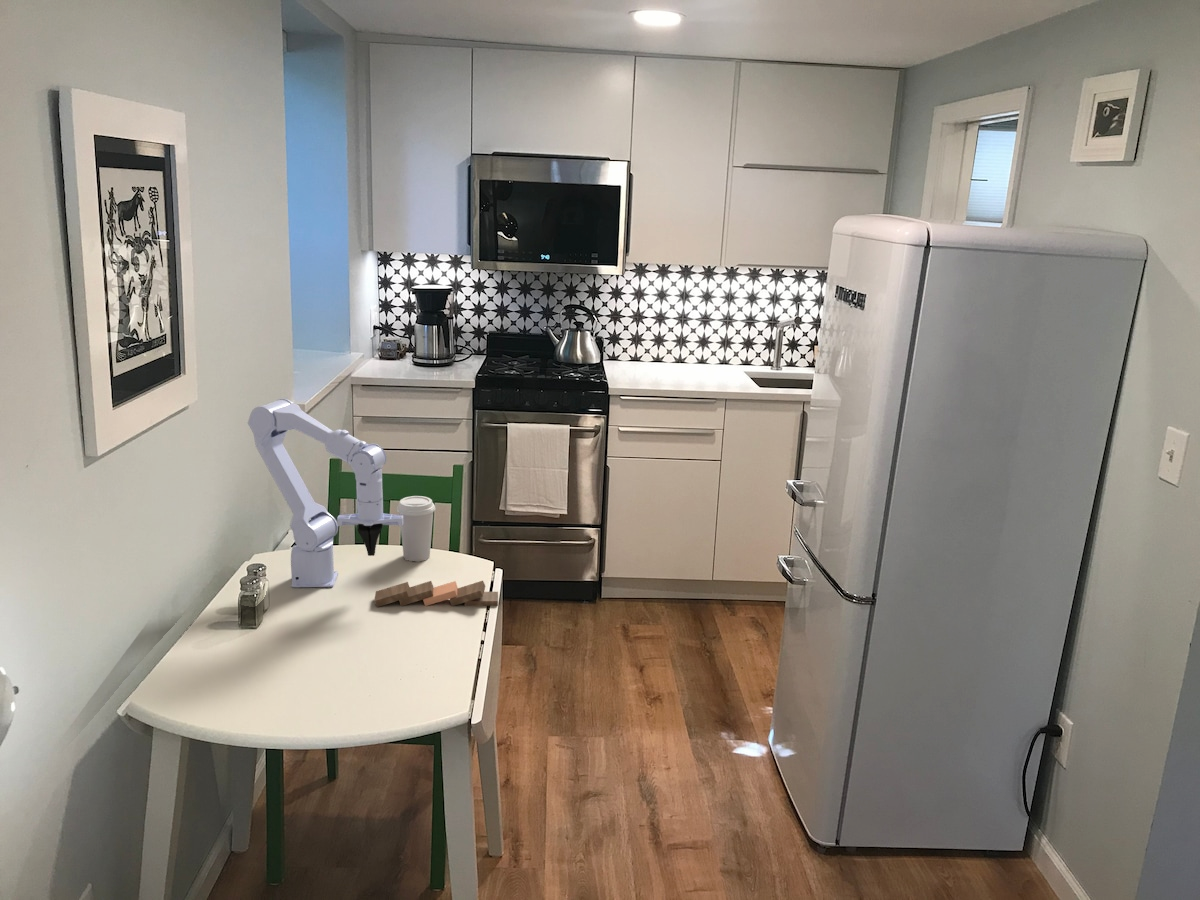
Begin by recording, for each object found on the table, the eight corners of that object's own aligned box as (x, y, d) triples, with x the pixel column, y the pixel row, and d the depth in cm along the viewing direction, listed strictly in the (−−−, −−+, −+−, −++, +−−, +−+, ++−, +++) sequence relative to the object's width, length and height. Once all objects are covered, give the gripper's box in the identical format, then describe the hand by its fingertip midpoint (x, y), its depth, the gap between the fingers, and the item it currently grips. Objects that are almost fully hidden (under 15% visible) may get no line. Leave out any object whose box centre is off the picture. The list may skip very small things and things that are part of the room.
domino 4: (449, 600, 211) (480, 590, 211) (452, 589, 216) (482, 580, 215) (452, 606, 212) (482, 596, 211) (455, 595, 217) (485, 586, 216)
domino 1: (374, 601, 209) (406, 591, 210) (375, 591, 214) (407, 581, 215) (376, 607, 210) (408, 597, 210) (378, 597, 215) (409, 587, 215)
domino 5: (464, 601, 212) (497, 601, 213) (465, 591, 217) (498, 591, 218) (464, 607, 213) (497, 607, 213) (465, 598, 217) (498, 597, 218)
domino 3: (422, 599, 211) (455, 590, 211) (424, 590, 216) (455, 581, 216) (425, 606, 212) (457, 596, 212) (426, 596, 216) (457, 587, 217)
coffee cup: (390, 560, 235) (389, 504, 231) (408, 547, 244) (407, 492, 239) (425, 566, 232) (424, 509, 228) (442, 552, 241) (441, 497, 237)
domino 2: (398, 600, 210) (431, 589, 211) (399, 590, 215) (431, 580, 216) (401, 606, 211) (433, 596, 212) (401, 596, 216) (433, 586, 216)
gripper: (333, 504, 207) (336, 561, 211) (400, 504, 209) (401, 560, 213) (339, 493, 214) (341, 548, 218) (403, 494, 215) (404, 548, 219)
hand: (371, 554), depth 216 cm, fingers closed
